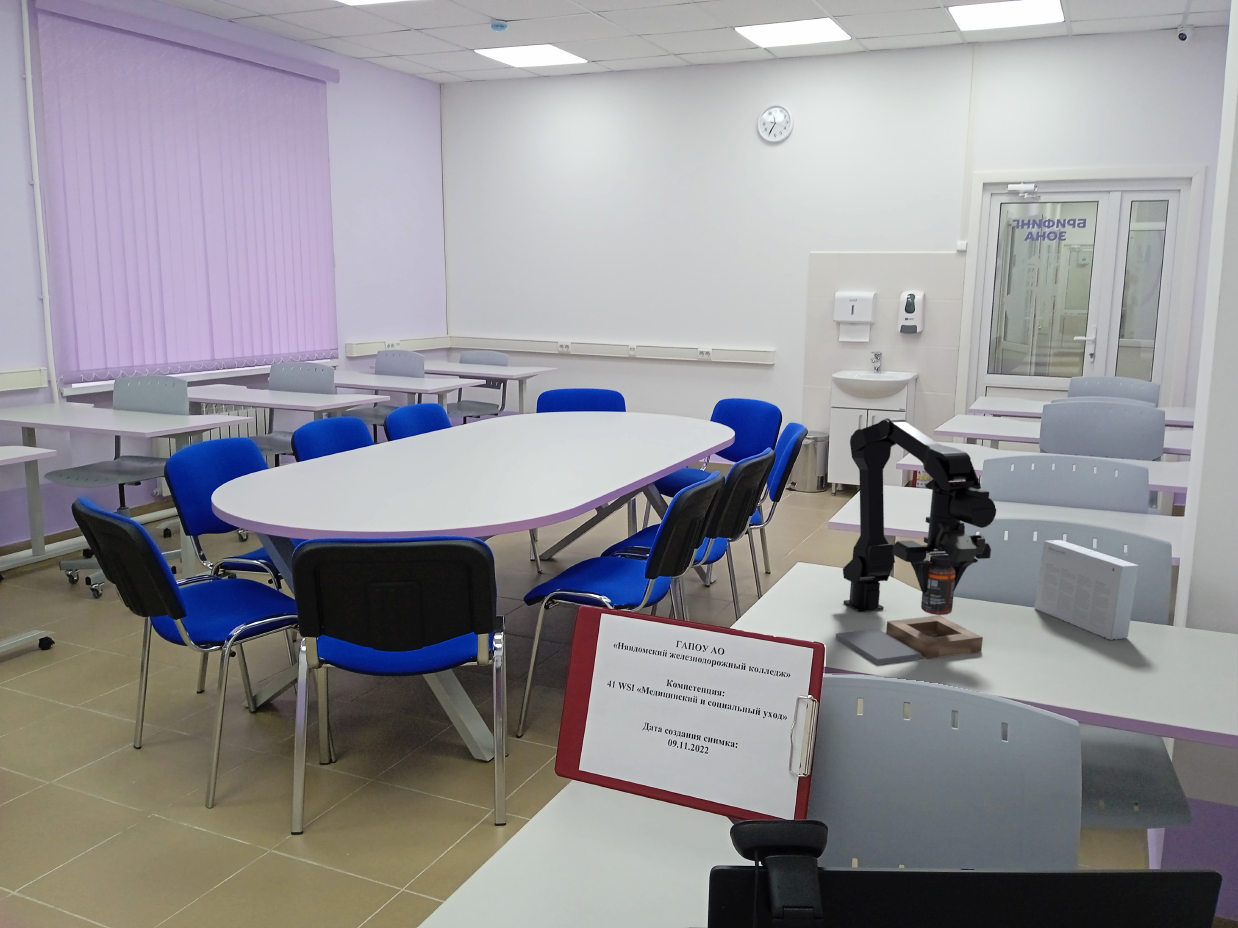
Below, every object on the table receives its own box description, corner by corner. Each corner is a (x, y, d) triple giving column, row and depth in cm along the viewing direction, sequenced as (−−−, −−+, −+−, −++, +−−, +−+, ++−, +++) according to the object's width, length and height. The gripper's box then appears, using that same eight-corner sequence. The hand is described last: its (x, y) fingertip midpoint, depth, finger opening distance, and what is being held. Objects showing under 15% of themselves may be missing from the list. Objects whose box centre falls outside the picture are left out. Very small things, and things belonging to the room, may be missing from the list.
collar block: (885, 635, 199) (887, 621, 199) (937, 628, 204) (939, 615, 204) (926, 658, 188) (928, 643, 187) (981, 651, 192) (982, 636, 192)
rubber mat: (835, 638, 197) (835, 633, 197) (877, 633, 200) (877, 628, 200) (877, 664, 184) (877, 659, 184) (920, 658, 188) (921, 653, 187)
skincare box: (1130, 638, 202) (1140, 564, 199) (1110, 641, 200) (1120, 566, 197) (1051, 606, 221) (1059, 538, 218) (1033, 608, 219) (1041, 539, 216)
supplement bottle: (947, 606, 197) (953, 552, 195) (955, 616, 191) (961, 561, 189) (917, 605, 198) (922, 551, 195) (924, 615, 192) (929, 559, 190)
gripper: (926, 527, 181) (918, 607, 184) (1013, 523, 186) (1004, 602, 189) (894, 512, 191) (887, 589, 194) (977, 509, 196) (969, 584, 199)
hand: (937, 591), depth 194 cm, fingers closed on supplement bottle, 6 cm apart
